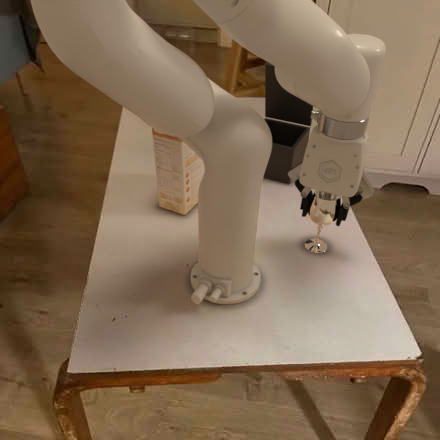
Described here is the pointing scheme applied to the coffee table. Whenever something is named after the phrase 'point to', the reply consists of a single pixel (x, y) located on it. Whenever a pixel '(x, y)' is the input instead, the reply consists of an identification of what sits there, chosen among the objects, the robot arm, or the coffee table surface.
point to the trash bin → (285, 149)
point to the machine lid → (284, 101)
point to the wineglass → (322, 216)
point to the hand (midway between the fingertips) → (322, 216)
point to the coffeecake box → (176, 173)
